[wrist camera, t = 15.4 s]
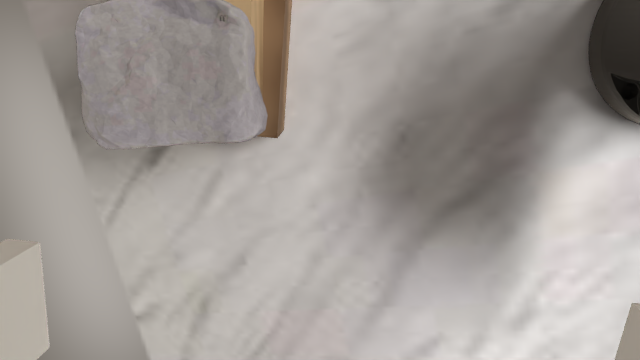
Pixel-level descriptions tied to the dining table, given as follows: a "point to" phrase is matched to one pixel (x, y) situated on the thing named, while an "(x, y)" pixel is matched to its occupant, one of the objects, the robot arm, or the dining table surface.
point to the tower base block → (275, 63)
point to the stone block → (168, 73)
